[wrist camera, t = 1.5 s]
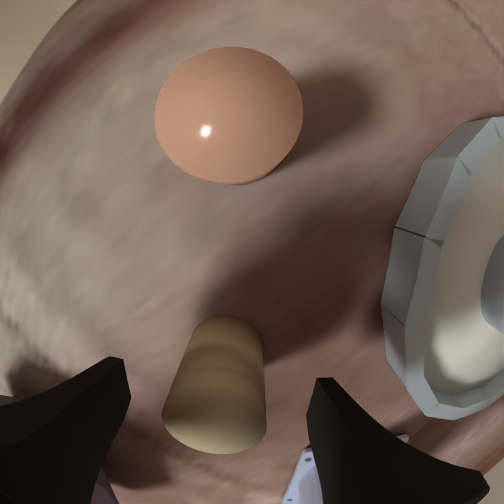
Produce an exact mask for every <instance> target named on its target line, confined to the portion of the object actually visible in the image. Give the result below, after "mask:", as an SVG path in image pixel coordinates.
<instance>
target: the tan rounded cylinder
mask: <svg viewBox="0 0 504 504" xmlns="http://www.w3.org/2000/svg"><path fill="white" fill-rule="evenodd" d="M162 420H163V423H164V425H165V427H166V429H167V430H168V431H169V433H170V434H171V435H172V436H173V437H174V438H176V439H177V440H178V441H180V442H181V443H183V444H185V445H187V446H189V447H191V448H193V449H196V450H199V451H202V452H207V453H213V454H232V453H238V452H241V451H245V450H247V449H249V448H251V447H253V446H255V445H256V444H258V443H259V442H260V441H261V440H262V438H263V437H264V435H265V432H266V426H267V425H266V404H265V384H264V365H263V346H262V341H261V338H260V336H259V334H258V333H257V331H256V330H255V329H254V328H253V327H252V326H251V325H250V324H248V323H247V322H245V321H243V320H241V319H238V318H235V317H230V316H217V317H212V318H209V319H207V320H205V321H203V322H202V323H200V324H199V325H198V326H197V327H196V328H195V330H194V331H193V333H192V336H191V338H190V341H189V343H188V346H187V348H186V351H185V353H184V356H183V358H182V361H181V363H180V366H179V368H178V371H177V373H176V376H175V379H174V381H173V384H172V386H171V389H170V391H169V394H168V397H167V399H166V402H165V404H164V407H163V410H162Z"/></svg>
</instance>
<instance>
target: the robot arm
mask: <svg viewBox="0 0 504 504" xmlns="http://www.w3.org/2000/svg"><path fill="white" fill-rule="evenodd" d="M130 400H131V394H130V390H129V385H128V381H127V376H126V371H125V366H124V361H123V359H120V358H116V357H111V356H109V357H107V358H105V359H103V360H101V361H100V362H98V363H96V364H95V365H93V366H91V367H90V368H88V369H86V370H85V371H83V372H81V373H80V374H78V375H76V376H74V377H73V378H71V379H69V380H67V381H65V382H63V383H61V384H60V385H58V386H56V387H54V388H52V389H50V390H48V391H45V392H43V393H41V394H38V395H36V396H33V397H30V398H28V399H24V400H21V401H17V402H13V403H10V404H6V405H1V406H0V504H91V499H92V495H93V491H94V487H95V484H96V480H97V477H98V474H99V471H100V468H101V465H102V463H103V460H104V458H105V456H106V454H107V452H108V450H109V448H110V446H111V444H112V442H113V440H114V438H115V436H116V434H117V432H118V430H119V428H120V426H121V424H122V422H123V420H124V418H125V415H126V412H127V409H128V406H129V403H130ZM306 416H307V426H308V435H309V440H310V444H311V448H307V449H305V450H303V451H302V453H301V456H300V459H299V461H298V464H297V466H296V469H295V472H294V474H293V477H292V479H291V481H290V484H289V486H288V489H287V491H286V493H285V495H284V498H283V500H282V504H477V503H478V502H479V501H480V500H481V499H483V498H484V497H485V495H487V493H488V492H489V490H490V487H489V485H488V484H487V482H486V480H485V479H484V477H483V475H482V474H481V472H480V471H477V470H472V469H468V468H463V467H459V466H456V465H452V464H450V463H447V462H444V461H441V460H439V459H436V458H434V457H432V456H429V455H427V454H425V453H423V452H421V451H419V450H418V449H416V448H414V447H412V446H410V445H409V444H407V442H408V440H409V436H408V435H407V434H403V435H399V436H395V435H393V434H392V433H391V432H389V431H388V430H387V429H385V428H384V427H383V426H382V425H380V424H379V423H378V422H377V421H376V420H374V419H373V418H372V417H371V416H370V415H369V414H368V413H367V412H366V411H365V410H364V409H362V408H361V407H360V406H359V405H358V404H357V403H356V402H355V401H354V400H353V399H352V397H351V396H350V395H349V394H348V393H347V392H346V391H345V390H344V389H343V388H342V387H341V386H340V385H339V384H338V383H337V382H336V381H335V379H334V378H333V377H330V378H317V379H316V383H315V386H314V390H313V394H312V397H311V401H310V404H309V408H308V411H307V415H306Z"/></svg>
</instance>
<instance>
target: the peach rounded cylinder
mask: <svg viewBox="0 0 504 504" xmlns="http://www.w3.org/2000/svg"><path fill="white" fill-rule="evenodd" d="M154 120H155V129H156V134H157V137H158V140H159V142H160V145H161V146H162V148H163V150H164V152H165V153H166V154H167V156H168V157H169V158H170V159H171V160H172V161H173V162H174V163H175V164H176V165H177V166H178V167H180V168H181V169H182V170H184V171H185V172H187V173H189V174H191V175H193V176H195V177H198V178H201V179H204V180H208V181H213V182H219V183H224V184H229V185H247V184H251V183H254V182H257V181H259V180H260V179H262V178H264V177H265V176H266V175H268V174H269V173H270V172H271V171H272V170H273V169H274V168H275V167H276V166H277V165H278V164H279V163H280V162H281V161H282V159H283V158H284V157H285V156H286V155H287V154H288V153H289V151H290V150H291V149H292V147H293V146H294V144H295V142H296V140H297V138H298V136H299V134H300V130H301V127H302V122H303V102H302V96H301V93H300V90H299V88H298V86H297V84H296V82H295V80H294V79H293V77H292V76H291V74H290V73H289V72H288V71H287V70H286V68H285V67H284V66H282V65H281V64H280V63H279V62H278V61H276V60H275V59H273V58H271V57H270V56H268V55H266V54H264V53H262V52H259V51H256V50H253V49H248V48H242V47H222V48H216V49H212V50H208V51H205V52H202V53H200V54H198V55H196V56H194V57H192V58H190V59H188V60H187V61H186V62H184V63H183V64H181V65H180V66H179V67H178V68H177V69H176V70H175V71H174V72H173V73H172V74H171V75H170V76H169V78H168V79H167V81H166V82H165V84H164V85H163V87H162V89H161V91H160V93H159V96H158V99H157V102H156V107H155V116H154Z"/></svg>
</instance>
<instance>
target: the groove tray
mask: <svg viewBox="0 0 504 504" xmlns="http://www.w3.org/2000/svg"><path fill="white" fill-rule="evenodd" d="M395 227H397V228H394V233H393V239H392V246H391V252H390V258H389V264H388V269H387V274H386V279H385V284H384V289H383V293H382V298H381V312H382V320H383V328H384V337H385V347H386V359H387V361H388V363H389V364H390V366H391V367H392V369H393V370H394V371H395V373H396V374H397V376H398V377H399V379H400V380H401V382H402V383H403V384H404V386H405V387H406V389H407V390H408V392H409V393H410V395H411V396H412V397H413V399H414V400H415V402H416V403H417V405H418V406H419V408H420V409H421V410H422V412H423V413H424V415H425V416H428V417H434V418H441V419H448V420H457V419H460V418H463V417H465V416H468V415H470V414H473V413H476V412H478V411H480V410H483V409H485V408H486V407H488V406H490V405H491V404H492V403H494V402H495V401H496V400H498V399H499V398H500V397H501V396H502V395H504V117H491V118H487V119H482V120H477V121H473V122H468V123H464V124H460V125H459V126H458V127H457V128H456V129H455V130H454V131H453V132H452V133H451V134H450V135H449V136H448V137H447V138H446V139H445V140H444V141H443V142H442V143H441V144H440V145H439V146H438V147H437V148H436V149H435V150H434V151H433V152H432V153H431V154H430V155H429V156H428V157H427V158H426V159H425V160H424V162H423V164H422V167H421V169H420V172H419V174H418V176H417V179H416V181H415V183H414V186H413V188H412V190H411V193H410V195H409V197H408V199H407V201H406V204H405V206H404V208H403V210H402V212H401V214H400V216H399V218H398V220H397V222H396V224H395Z"/></svg>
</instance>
